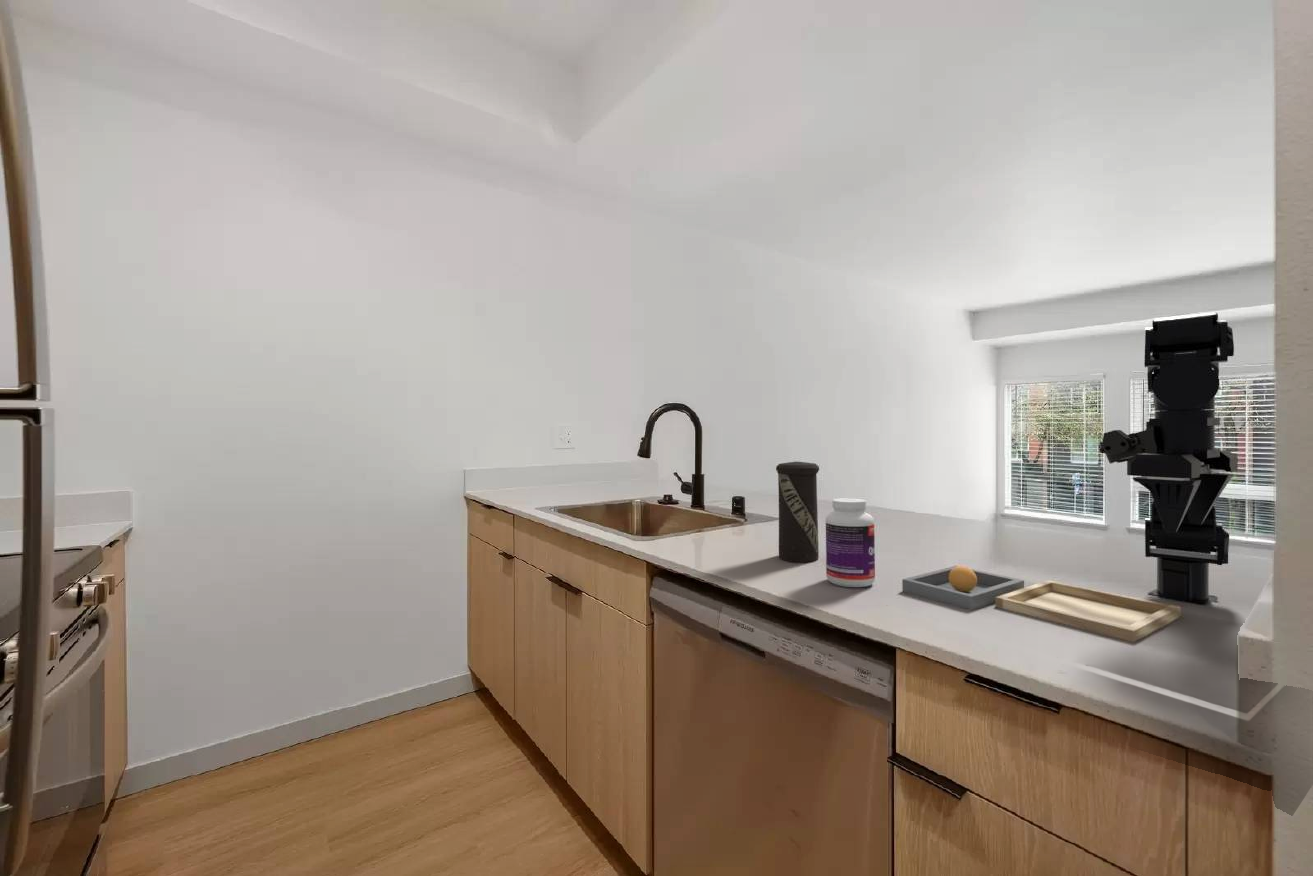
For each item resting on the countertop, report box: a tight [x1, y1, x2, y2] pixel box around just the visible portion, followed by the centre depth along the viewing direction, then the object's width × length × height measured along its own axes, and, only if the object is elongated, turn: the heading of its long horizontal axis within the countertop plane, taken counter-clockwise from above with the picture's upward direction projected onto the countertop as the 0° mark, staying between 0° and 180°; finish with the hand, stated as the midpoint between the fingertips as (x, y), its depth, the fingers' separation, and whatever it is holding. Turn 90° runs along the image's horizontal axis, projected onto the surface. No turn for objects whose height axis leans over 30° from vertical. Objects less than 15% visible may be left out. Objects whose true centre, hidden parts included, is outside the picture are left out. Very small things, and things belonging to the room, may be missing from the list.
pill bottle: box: [825, 497, 876, 588], centre depth 95 cm, size 8×8×14 cm
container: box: [775, 461, 820, 563], centre depth 113 cm, size 9×9×20 cm
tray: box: [901, 565, 1025, 611], centre depth 87 cm, size 15×11×2 cm
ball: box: [949, 565, 977, 592], centre depth 87 cm, size 4×4×4 cm
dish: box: [994, 579, 1182, 643], centre depth 77 cm, size 16×16×2 cm
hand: (1183, 527), depth 73 cm, fingers open, 9 cm apart
